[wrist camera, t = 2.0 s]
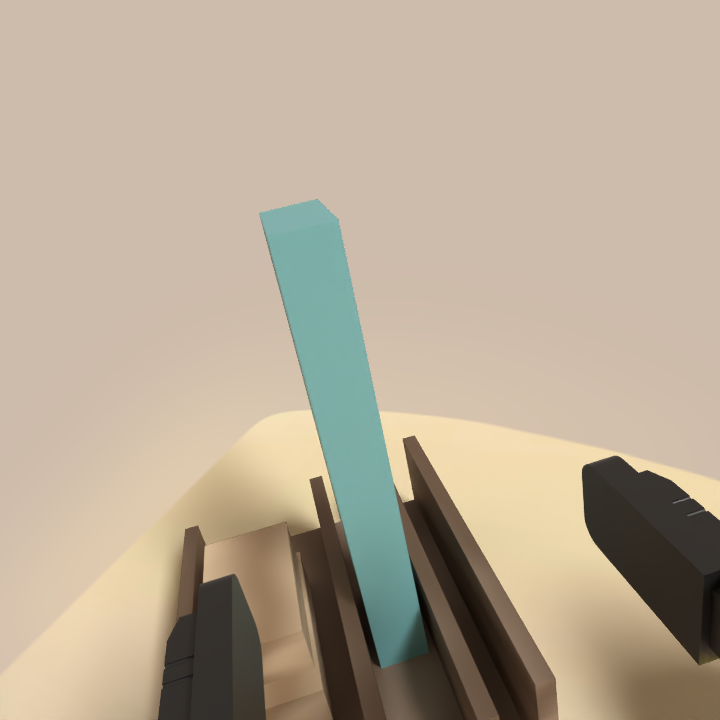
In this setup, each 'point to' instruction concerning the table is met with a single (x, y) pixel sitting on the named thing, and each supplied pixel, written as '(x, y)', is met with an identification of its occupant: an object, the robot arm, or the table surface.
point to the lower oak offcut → (302, 677)
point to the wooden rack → (438, 610)
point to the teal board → (346, 418)
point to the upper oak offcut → (268, 595)
